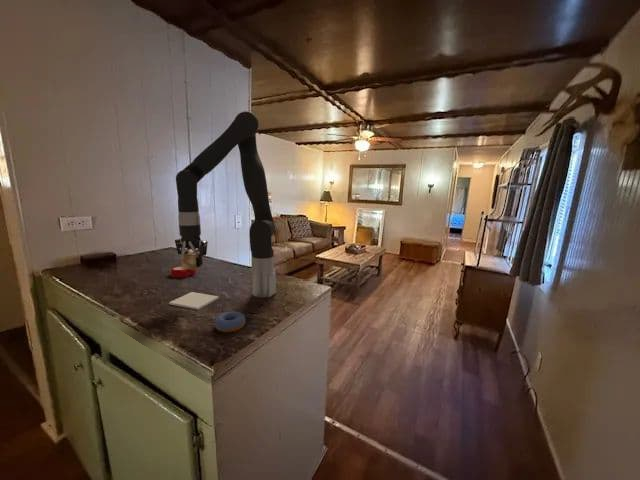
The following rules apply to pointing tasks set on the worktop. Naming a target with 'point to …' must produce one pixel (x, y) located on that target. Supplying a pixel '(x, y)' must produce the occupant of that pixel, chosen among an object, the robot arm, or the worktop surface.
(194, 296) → the plate
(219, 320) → the doughnut
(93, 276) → the worktop surface
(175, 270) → the alarm clock
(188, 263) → the maple block
